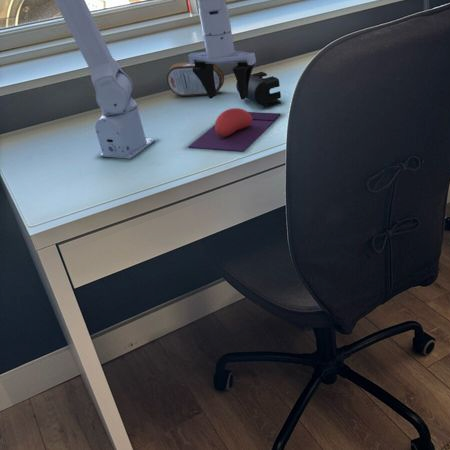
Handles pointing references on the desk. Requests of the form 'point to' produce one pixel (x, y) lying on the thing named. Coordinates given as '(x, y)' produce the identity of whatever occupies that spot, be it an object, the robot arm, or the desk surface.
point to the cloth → (237, 134)
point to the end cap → (263, 90)
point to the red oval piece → (232, 121)
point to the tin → (190, 80)
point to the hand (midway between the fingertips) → (228, 97)
